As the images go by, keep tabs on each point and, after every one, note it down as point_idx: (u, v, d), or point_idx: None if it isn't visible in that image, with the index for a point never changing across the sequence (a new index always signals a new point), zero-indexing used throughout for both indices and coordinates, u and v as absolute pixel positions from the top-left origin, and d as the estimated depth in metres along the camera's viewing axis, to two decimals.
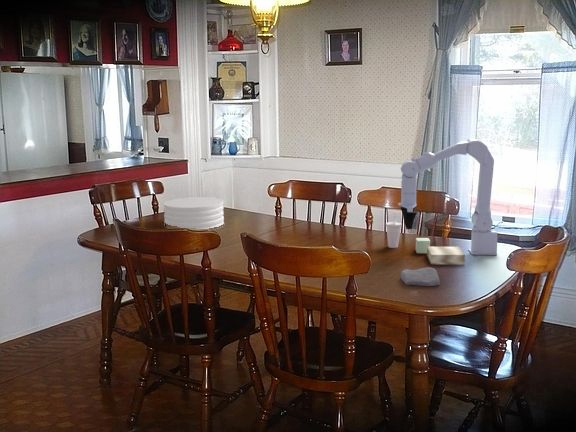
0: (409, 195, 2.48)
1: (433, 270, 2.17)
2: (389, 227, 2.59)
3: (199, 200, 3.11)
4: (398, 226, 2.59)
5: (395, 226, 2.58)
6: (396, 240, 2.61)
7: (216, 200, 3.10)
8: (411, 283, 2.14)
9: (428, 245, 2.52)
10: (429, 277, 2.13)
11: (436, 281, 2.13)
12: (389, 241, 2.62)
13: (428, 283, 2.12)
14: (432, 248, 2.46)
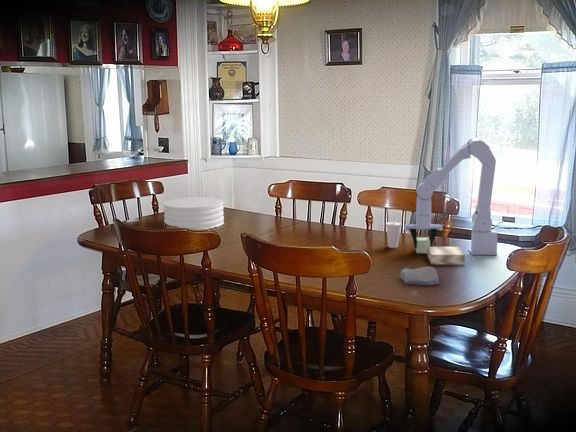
0: (416, 215, 2.53)
1: (432, 269, 2.18)
2: (389, 227, 2.59)
3: (199, 200, 3.11)
4: (398, 226, 2.59)
5: (395, 226, 2.58)
6: (396, 240, 2.61)
7: (216, 200, 3.10)
8: (411, 282, 2.15)
9: (428, 245, 2.52)
10: (428, 276, 2.14)
11: (435, 280, 2.13)
12: (389, 241, 2.62)
13: (427, 282, 2.13)
14: (432, 248, 2.46)
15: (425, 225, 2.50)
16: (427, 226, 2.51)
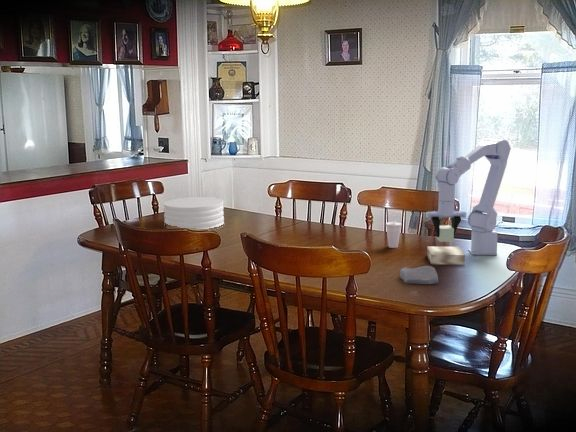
0: (438, 202, 2.39)
1: (432, 268, 2.19)
2: (389, 227, 2.59)
3: (199, 200, 3.11)
4: (398, 226, 2.59)
5: (395, 226, 2.58)
6: (396, 240, 2.61)
7: (216, 200, 3.10)
8: (410, 281, 2.15)
9: (452, 233, 2.39)
10: (428, 275, 2.15)
11: (435, 279, 2.14)
12: (389, 241, 2.62)
13: (427, 281, 2.14)
14: (432, 248, 2.46)
15: (449, 212, 2.37)
16: (451, 213, 2.37)
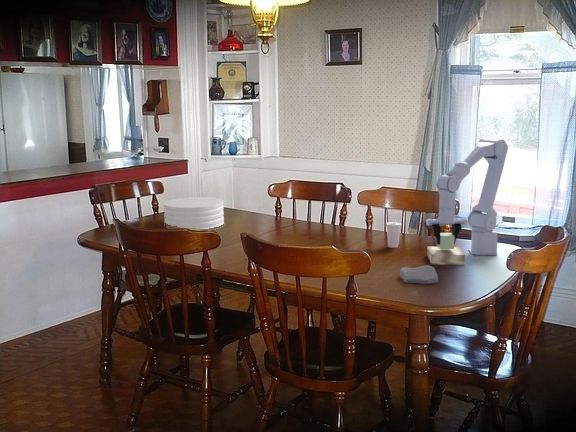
0: (439, 209, 2.39)
1: (431, 268, 2.19)
2: (389, 227, 2.59)
3: (199, 200, 3.11)
4: (398, 226, 2.59)
5: (395, 226, 2.58)
6: (396, 240, 2.61)
7: (216, 200, 3.10)
8: (410, 281, 2.16)
9: (452, 240, 2.39)
10: (428, 275, 2.16)
11: (434, 279, 2.15)
12: (389, 241, 2.62)
13: (427, 281, 2.15)
14: (432, 248, 2.46)
15: (449, 219, 2.37)
16: (451, 220, 2.37)
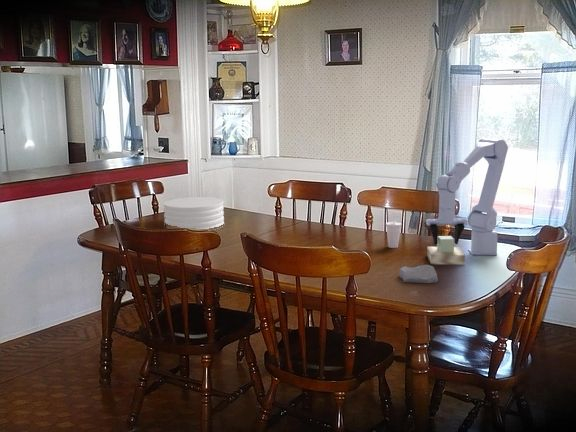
0: (439, 209, 2.39)
1: (431, 267, 2.20)
2: (389, 227, 2.59)
3: (199, 200, 3.11)
4: (398, 226, 2.59)
5: (395, 226, 2.58)
6: (396, 240, 2.61)
7: (216, 200, 3.10)
8: (409, 280, 2.17)
9: (452, 243, 2.39)
10: (427, 274, 2.16)
11: (434, 278, 2.16)
12: (389, 241, 2.62)
13: (426, 280, 2.15)
14: (432, 248, 2.46)
15: (449, 219, 2.37)
16: (451, 220, 2.37)
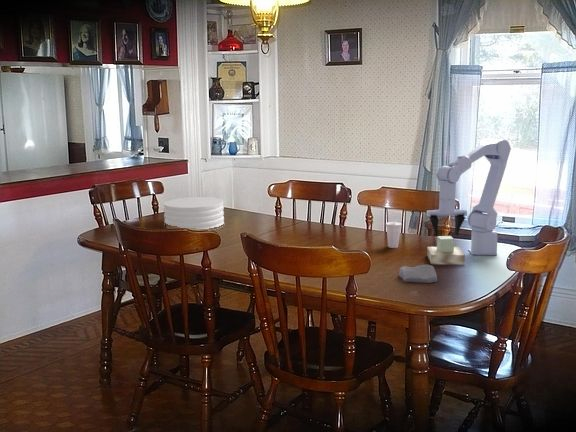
0: (439, 200, 2.38)
1: (431, 267, 2.20)
2: (389, 227, 2.59)
3: (199, 200, 3.11)
4: (398, 226, 2.59)
5: (395, 226, 2.58)
6: (396, 240, 2.61)
7: (216, 200, 3.10)
8: (409, 280, 2.17)
9: (452, 243, 2.39)
10: (427, 274, 2.17)
11: (434, 278, 2.16)
12: (389, 241, 2.62)
13: (426, 280, 2.16)
14: (432, 248, 2.46)
15: (450, 210, 2.36)
16: (452, 211, 2.37)
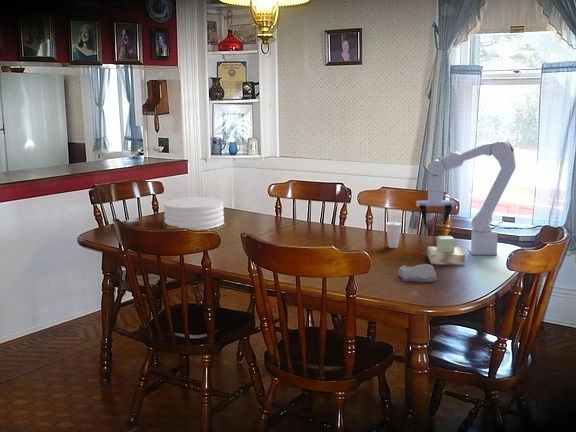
0: (428, 191, 2.55)
1: (430, 266, 2.21)
2: (389, 227, 2.59)
3: (199, 200, 3.11)
4: (398, 226, 2.59)
5: (395, 226, 2.58)
6: (396, 240, 2.61)
7: (216, 200, 3.10)
8: (409, 279, 2.18)
9: (452, 243, 2.39)
10: (427, 273, 2.17)
11: (433, 277, 2.17)
12: (389, 241, 2.62)
13: (426, 279, 2.16)
14: (432, 248, 2.46)
15: (437, 201, 2.53)
16: (439, 202, 2.53)
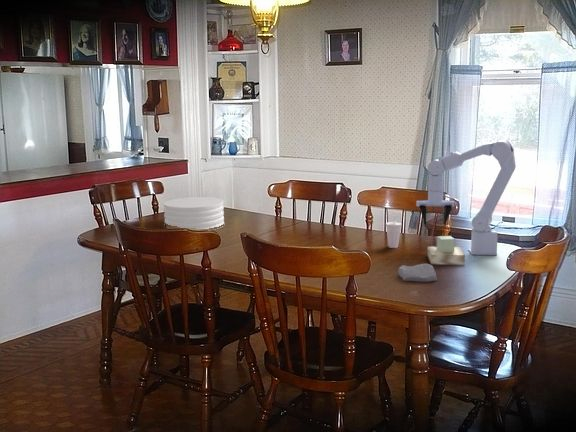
0: (428, 191, 2.55)
1: (430, 266, 2.22)
2: (389, 227, 2.59)
3: (199, 200, 3.11)
4: (398, 226, 2.59)
5: (395, 226, 2.58)
6: (396, 240, 2.61)
7: (216, 200, 3.10)
8: (409, 279, 2.18)
9: (452, 243, 2.39)
10: (426, 273, 2.18)
11: (433, 277, 2.17)
12: (389, 241, 2.62)
13: (425, 279, 2.17)
14: (432, 248, 2.46)
15: (437, 201, 2.53)
16: (439, 202, 2.53)
